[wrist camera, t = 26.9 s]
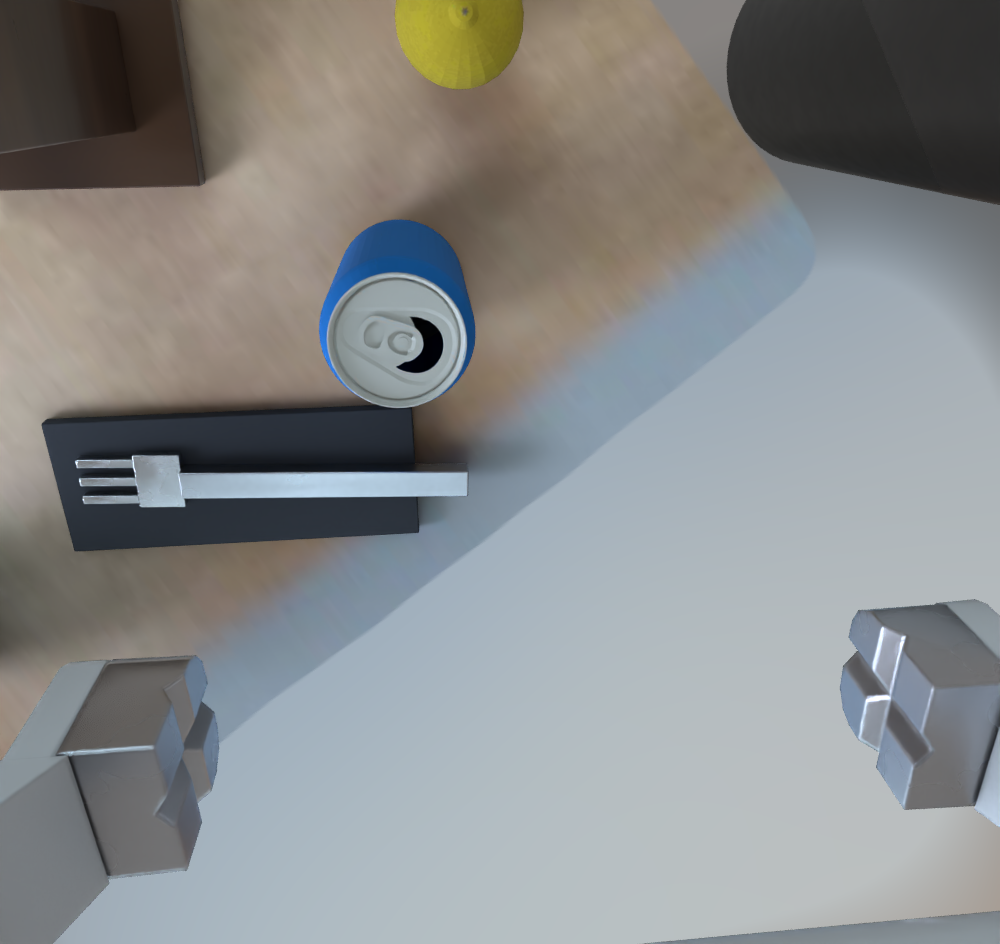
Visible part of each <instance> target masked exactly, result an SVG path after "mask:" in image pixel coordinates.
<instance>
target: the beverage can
mask: <svg viewBox="0 0 1000 944" xmlns="http://www.w3.org/2000/svg"><path fill="white" fill-rule="evenodd" d="M319 334H320V343H321V347H322V351H323V354H324V356H325V359H326V361H327V363H328V365H329V367H330V368H331V370H332V372H333V373H334V374H335V376H336V377H337V378H338V380H339V381H340V382H341V383H342V384H343V385H344V386H345V387H347V388H348V389H349V390H350V391H351V392H353V393H354V394H356V395H358V396H359V397H361V398H363V399H365V400H367V401H369V402H371V403H374V404H377V405H380V406H385V407H392V408H407V407H413V406H417V405H420V404H424V403H426V402H429V401H431V400H433V399H435V398H437V397H439V396H440V395H442V394H444V393H445V392H446V391H447V390H449V389H450V388H451V387H452V386H453V385H454V384H455V383H456V382H457V381H458V380H459V378H460V377H461V376H462V374H463V373H464V371H465V370H466V368H467V366H468V364H469V362H470V359H471V357H472V353H473V349H474V345H475V322H474V316H473V312H472V308H471V304H470V301H469V297H468V293H467V289H466V285H465V281H464V277H463V273H462V269H461V266H460V263H459V260H458V258H457V256H456V254H455V252H454V250H453V249H452V247H451V246H450V245H449V243H448V242H447V241H446V240H445V239H444V238H443V237H442V236H441V235H440V234H439V233H437V232H436V231H434V230H433V229H431V228H429V227H428V226H426V225H423V224H421V223H418V222H414V221H410V220H389V221H384V222H381V223H377V224H375V225H373V226H371V227H369V228H367V229H366V230H364V231H363V232H361V233H360V234H359V235H358V236H357V237H356V238H355V239H354V240H353V241H352V242H351V244H350V245H349V247H348V248H347V250H346V252H345V254H344V256H343V258H342V261H341V263H340V266H339V268H338V270H337V273H336V275H335V278H334V280H333V283H332V285H331V287H330V290H329V292H328V295H327V297H326V299H325V302H324V305H323V308H322V311H321V316H320V324H319Z"/></svg>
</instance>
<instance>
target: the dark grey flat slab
mask: <svg viewBox="0 0 1000 944" xmlns="http://www.w3.org/2000/svg"><path fill="white" fill-rule="evenodd" d="M42 429H43V433H44V437H45V440H46V444H47V448H48V452H49V456H50V460H51V463H52V467H53V471H54V475H55V479H56V482H57V486H58V490H59V494H60V498H61V501H62V505H63V509H64V513H65V517H66V520H67V524H68V528H69V532H70V536H71V540H72V543H73V547H74V551H93V550H111V549H130V548H148V547H166V546H185V545H203V544H221V543H239V542H258V541H276V540H294V539H313V538H331V537H349V536H368V535H386V534H404V533H419V518H418V501H417V497H311V498H203V499H188V503H187V505H186V507H140V503H128V504H84V501H83V495H84V494H85V493H86V492H138V490H137V485H136V486H80V480H79V478H80V477H81V476H82V475H83V474H135V472H134V467H133V468H77V465H76V459H77V458H78V457H79V456H132V455H133V454H134V453H135V452H181V455H182V462H183V465H276V464H415V451H414V434H413V417H412V407H407V408H392V407H385V406H380V405H369V406H346V407H322V408H298V409H275V410H251V411H228V412H204V413H180V414H157V415H133V416H110V417H86V418H63V419H47V420H45V421H44V422H43V423H42Z"/></svg>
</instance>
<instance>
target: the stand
mask: <svg viewBox="0 0 1000 944" xmlns="http://www.w3.org/2000/svg"><path fill="white" fill-rule="evenodd" d="M203 184H205V178H204V172H203V165H202V159H201V152H200V146H199V139H198V132H197V126H196V119H195V113H194V106H193V100H192V93H191V87H190V80H189V74H188V67H187V60H186V54H185V47H184V41H183V34H182V28H181V21H180V15H179V8H178V2H177V0H0V190H47V189H93V188H140V187H186V186H200V185H203Z"/></svg>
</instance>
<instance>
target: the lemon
mask: <svg viewBox="0 0 1000 944" xmlns="http://www.w3.org/2000/svg"><path fill="white" fill-rule="evenodd" d="M523 15H524V11H523V6H522V0H396V8H395V22H396V30H397V35H398V38H399V41H400V44H401V47H402V49H403V52H404V53H405V55H406V56H407V58H408V59H409V61H410V62H411V64H412V66H413V67H415V68H416V69H417V70H418V71H419V72H420V73H421V74H422V75H423V76H424V77H425V78H427V79H429V80H430V81H432V82H434V83H436V84H437V85H439V86H443V87H447V88H451V89H471V88H474V87H478V86H481V85H484V84H486V83H488V82H489V81H491V80H492V79H494V78H495V77H497V76H498V75H499V74H500V73H501V72H502V71H503V70H504V69H505V68H506V67H507V66H508V64H509V63H510V62H511V60H512V58H513V56H514V54H515V53H516V51H517V49H518V46H519V43H520V39H521V35H522V32H523Z"/></svg>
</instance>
